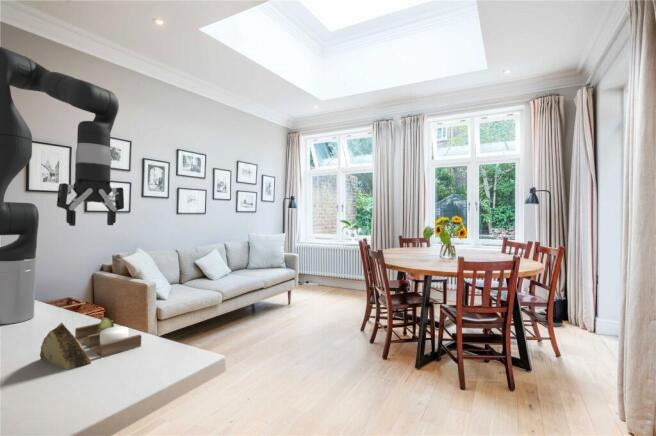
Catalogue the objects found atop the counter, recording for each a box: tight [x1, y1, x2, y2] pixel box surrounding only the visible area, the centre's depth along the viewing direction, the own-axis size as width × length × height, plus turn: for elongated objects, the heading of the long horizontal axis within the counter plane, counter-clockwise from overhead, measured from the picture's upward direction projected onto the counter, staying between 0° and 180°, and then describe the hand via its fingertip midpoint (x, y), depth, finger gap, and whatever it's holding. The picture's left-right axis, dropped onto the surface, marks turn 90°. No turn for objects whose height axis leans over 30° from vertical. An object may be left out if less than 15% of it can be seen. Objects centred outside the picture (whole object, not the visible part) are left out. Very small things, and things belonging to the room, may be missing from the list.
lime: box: [95, 317, 113, 334], centre depth 82 cm, size 4×5×5 cm
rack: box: [74, 319, 142, 358], centre depth 79 cm, size 16×8×4 cm, turn 54°
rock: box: [39, 322, 92, 370], centre depth 70 cm, size 11×9×10 cm
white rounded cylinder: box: [100, 326, 130, 347], centre depth 77 cm, size 6×6×4 cm
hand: (91, 225), depth 87 cm, fingers open, 8 cm apart
